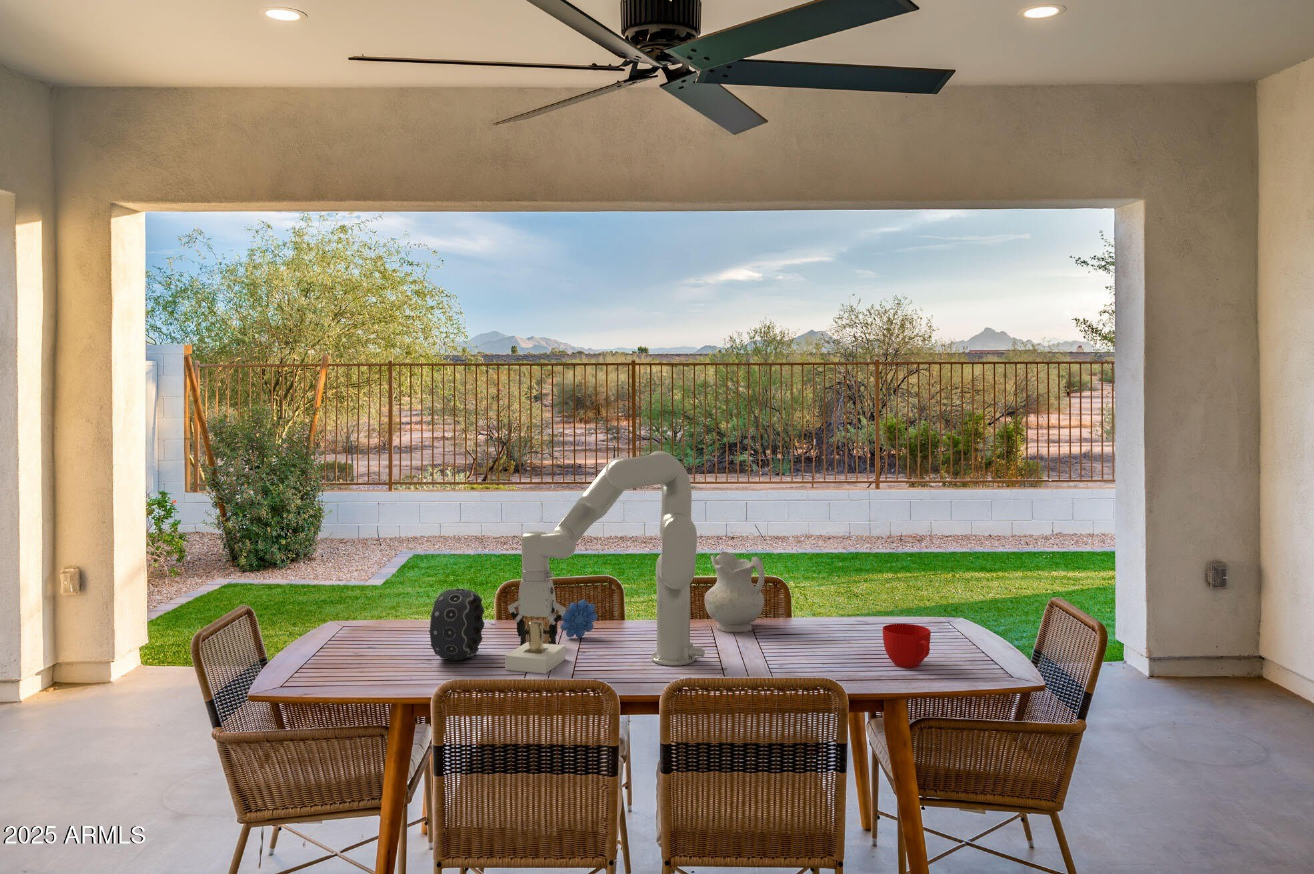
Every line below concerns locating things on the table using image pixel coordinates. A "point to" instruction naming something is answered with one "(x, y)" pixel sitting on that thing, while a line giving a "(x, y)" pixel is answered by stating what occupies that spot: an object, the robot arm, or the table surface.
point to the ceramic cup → (906, 644)
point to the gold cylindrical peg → (536, 636)
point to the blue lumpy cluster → (578, 619)
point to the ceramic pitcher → (735, 593)
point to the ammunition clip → (545, 631)
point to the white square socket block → (535, 658)
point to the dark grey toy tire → (456, 624)
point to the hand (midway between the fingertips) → (537, 636)
